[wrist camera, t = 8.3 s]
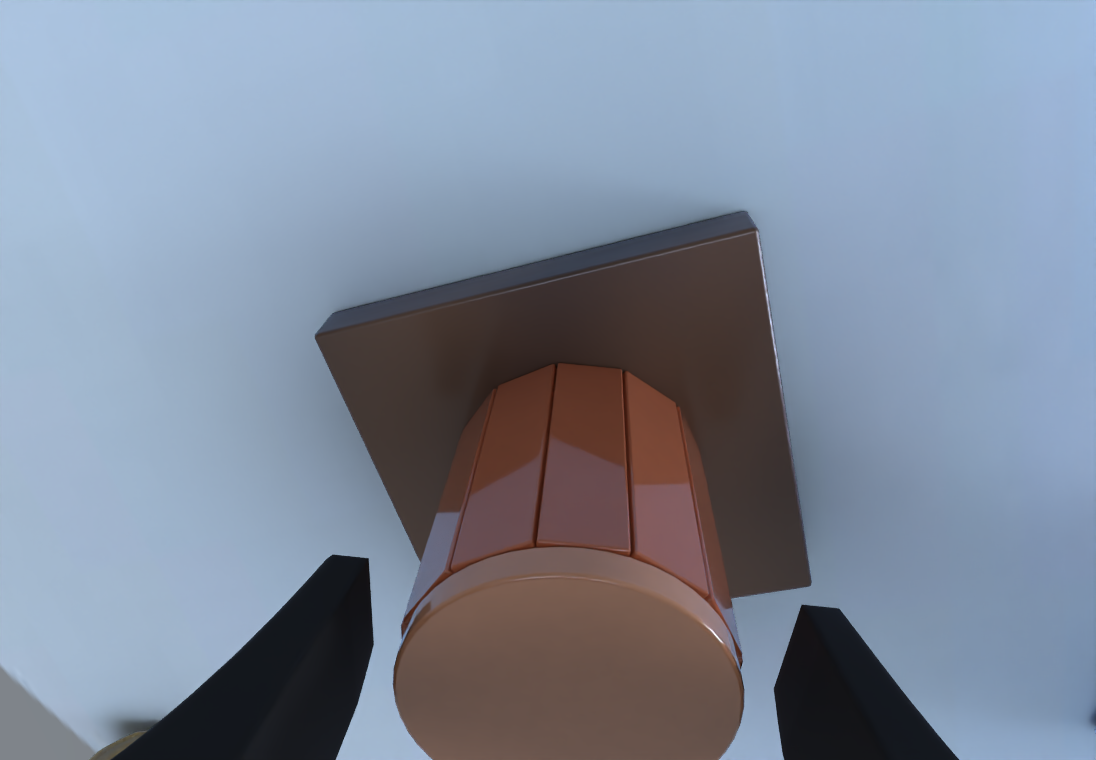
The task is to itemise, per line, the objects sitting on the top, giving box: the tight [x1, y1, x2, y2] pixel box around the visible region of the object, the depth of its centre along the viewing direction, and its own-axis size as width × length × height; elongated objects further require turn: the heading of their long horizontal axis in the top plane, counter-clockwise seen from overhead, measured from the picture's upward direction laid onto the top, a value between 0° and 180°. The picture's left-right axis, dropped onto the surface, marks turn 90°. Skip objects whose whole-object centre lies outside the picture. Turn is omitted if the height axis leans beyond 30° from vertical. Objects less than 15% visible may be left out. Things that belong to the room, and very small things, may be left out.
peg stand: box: [315, 211, 812, 598], centre depth 15 cm, size 9×9×6 cm
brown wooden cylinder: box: [393, 363, 744, 760], centre depth 13 cm, size 5×5×6 cm
